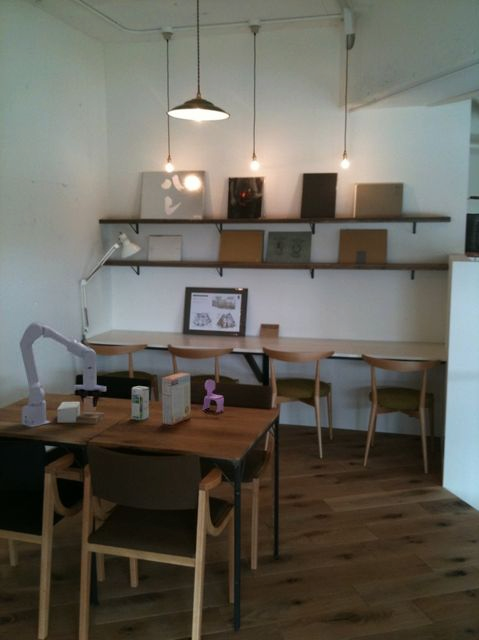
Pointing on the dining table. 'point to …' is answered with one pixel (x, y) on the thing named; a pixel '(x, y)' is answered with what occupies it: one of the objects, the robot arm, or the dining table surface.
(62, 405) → the small box
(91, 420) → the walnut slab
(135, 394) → the syrup box
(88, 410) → the terracotta block
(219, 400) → the toy chair
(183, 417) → the cracker box
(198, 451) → the dining table surface
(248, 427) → the dining table surface
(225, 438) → the dining table surface
